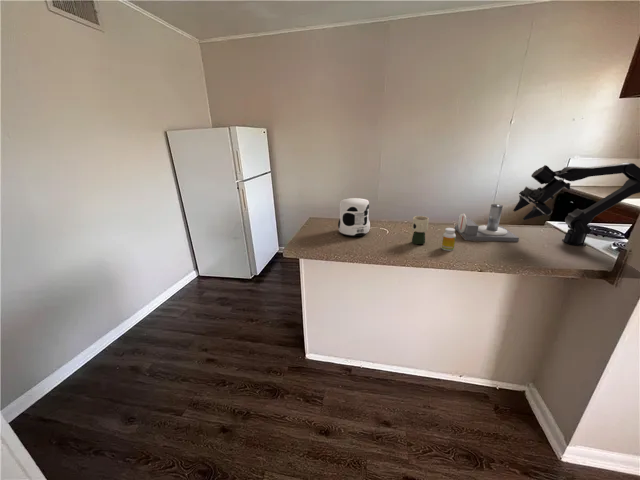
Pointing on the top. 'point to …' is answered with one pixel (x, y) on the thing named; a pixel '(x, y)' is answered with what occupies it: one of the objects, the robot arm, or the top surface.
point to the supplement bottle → (448, 239)
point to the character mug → (419, 229)
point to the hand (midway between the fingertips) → (518, 215)
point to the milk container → (354, 217)
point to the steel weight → (494, 217)
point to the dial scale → (482, 231)
